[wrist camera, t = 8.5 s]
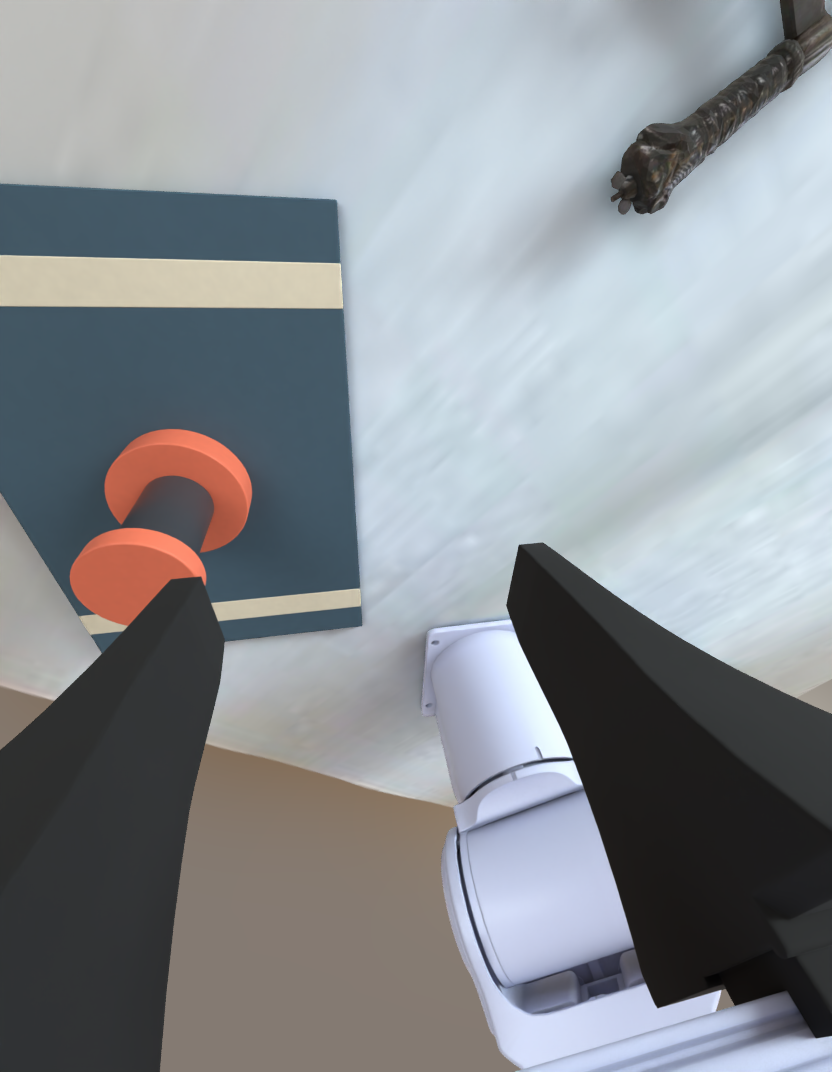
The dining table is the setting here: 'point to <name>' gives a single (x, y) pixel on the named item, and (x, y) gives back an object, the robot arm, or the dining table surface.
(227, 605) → the tea towel
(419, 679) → the dining table surface
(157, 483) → the orange thread spool
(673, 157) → the hacksaw
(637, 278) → the dining table surface
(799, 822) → the robot arm
